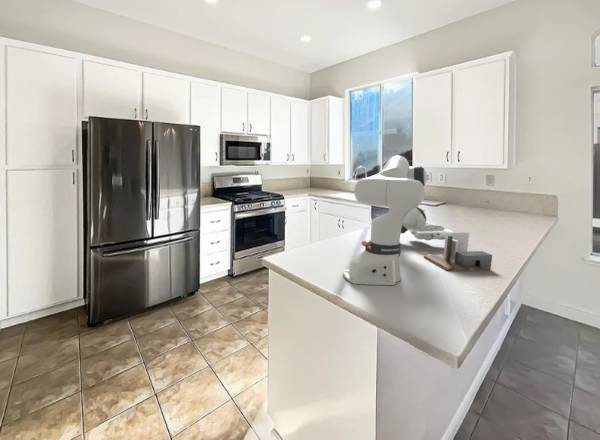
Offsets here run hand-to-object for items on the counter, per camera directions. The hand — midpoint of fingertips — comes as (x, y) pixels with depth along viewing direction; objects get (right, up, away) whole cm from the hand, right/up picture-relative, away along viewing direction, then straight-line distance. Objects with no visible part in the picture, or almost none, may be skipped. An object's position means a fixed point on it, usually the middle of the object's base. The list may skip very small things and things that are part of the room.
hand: (442, 238), depth 160 cm
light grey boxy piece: (0, -8, -16) cm, 18 cm away
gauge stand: (-1, -10, -16) cm, 19 cm away
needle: (-6, -9, -18) cm, 21 cm away
